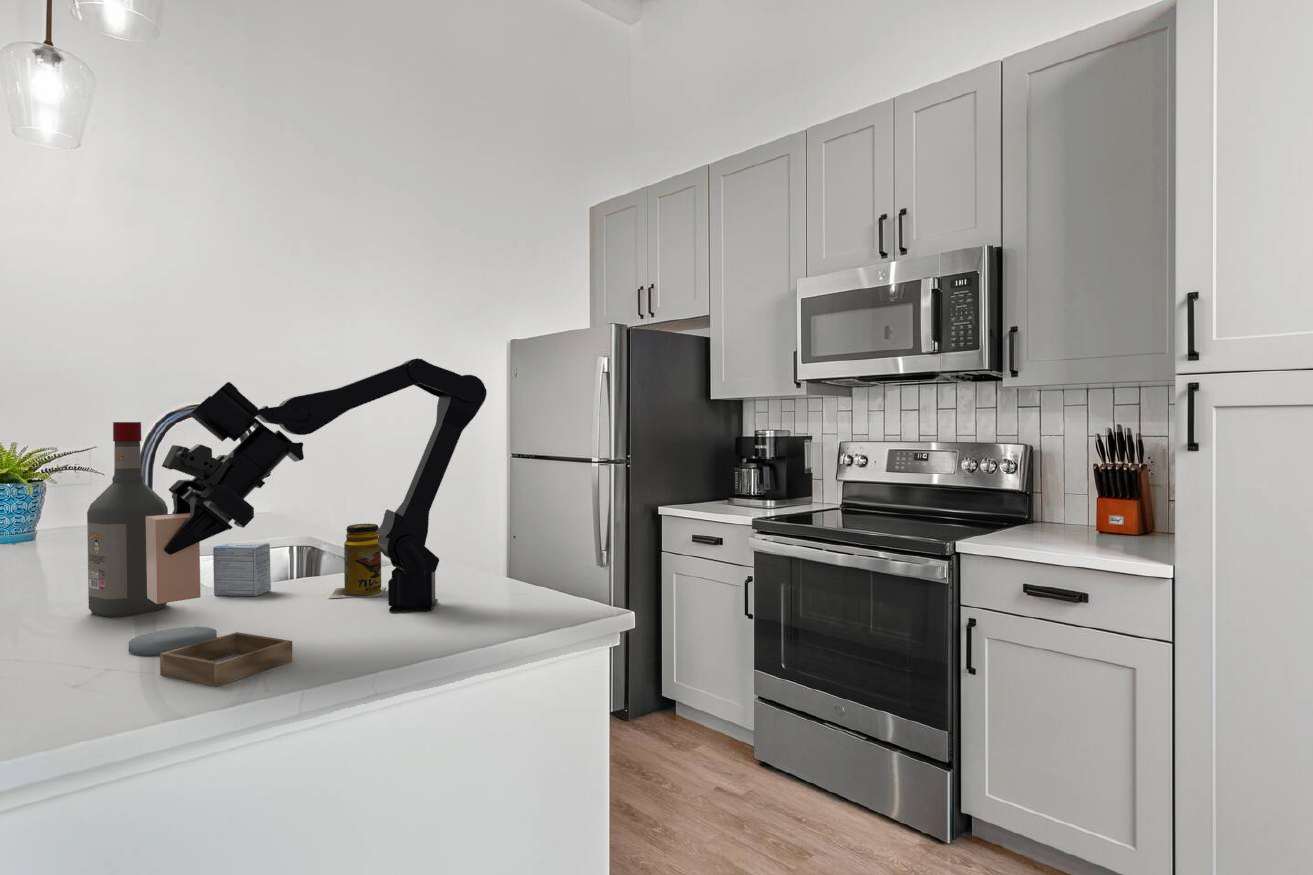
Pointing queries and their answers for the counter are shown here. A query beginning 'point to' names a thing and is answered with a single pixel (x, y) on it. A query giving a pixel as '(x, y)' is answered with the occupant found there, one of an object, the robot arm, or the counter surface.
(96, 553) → the liquor
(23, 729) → the counter surface
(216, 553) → the grey rectangular block
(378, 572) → the condiment
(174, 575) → the tan rectangular block
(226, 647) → the wooden tray
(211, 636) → the coaster
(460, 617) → the counter surface
